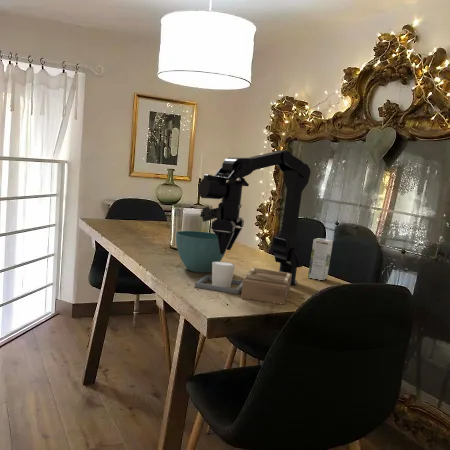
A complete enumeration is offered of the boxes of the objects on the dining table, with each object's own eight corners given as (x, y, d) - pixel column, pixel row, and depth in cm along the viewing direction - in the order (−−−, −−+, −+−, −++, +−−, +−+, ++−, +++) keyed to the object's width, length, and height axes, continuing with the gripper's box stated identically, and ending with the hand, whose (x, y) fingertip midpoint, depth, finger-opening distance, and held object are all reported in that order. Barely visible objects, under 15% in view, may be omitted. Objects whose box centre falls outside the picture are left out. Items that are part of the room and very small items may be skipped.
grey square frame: (205, 278, 154) (206, 274, 154) (245, 285, 152) (246, 281, 152) (194, 286, 142) (194, 282, 141) (238, 294, 139) (238, 290, 139)
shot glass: (234, 289, 144) (237, 266, 143) (212, 288, 142) (215, 265, 142) (229, 283, 151) (231, 261, 150) (207, 282, 149) (210, 260, 148)
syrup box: (312, 276, 179) (317, 237, 177) (327, 279, 176) (333, 240, 175) (307, 278, 174) (312, 238, 172) (323, 281, 171) (329, 241, 170)
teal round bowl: (177, 274, 155) (181, 236, 154) (168, 262, 173) (172, 228, 171) (231, 277, 160) (235, 241, 159) (217, 265, 178) (221, 232, 177)
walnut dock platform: (252, 283, 155) (254, 265, 154) (289, 289, 152) (292, 271, 152) (240, 297, 135) (243, 276, 135) (283, 304, 133) (286, 283, 132)
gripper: (212, 196, 155) (207, 244, 156) (196, 197, 136) (190, 252, 138) (246, 200, 152) (241, 249, 154) (235, 202, 134) (228, 258, 136)
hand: (225, 251), depth 146 cm, fingers open, 9 cm apart
